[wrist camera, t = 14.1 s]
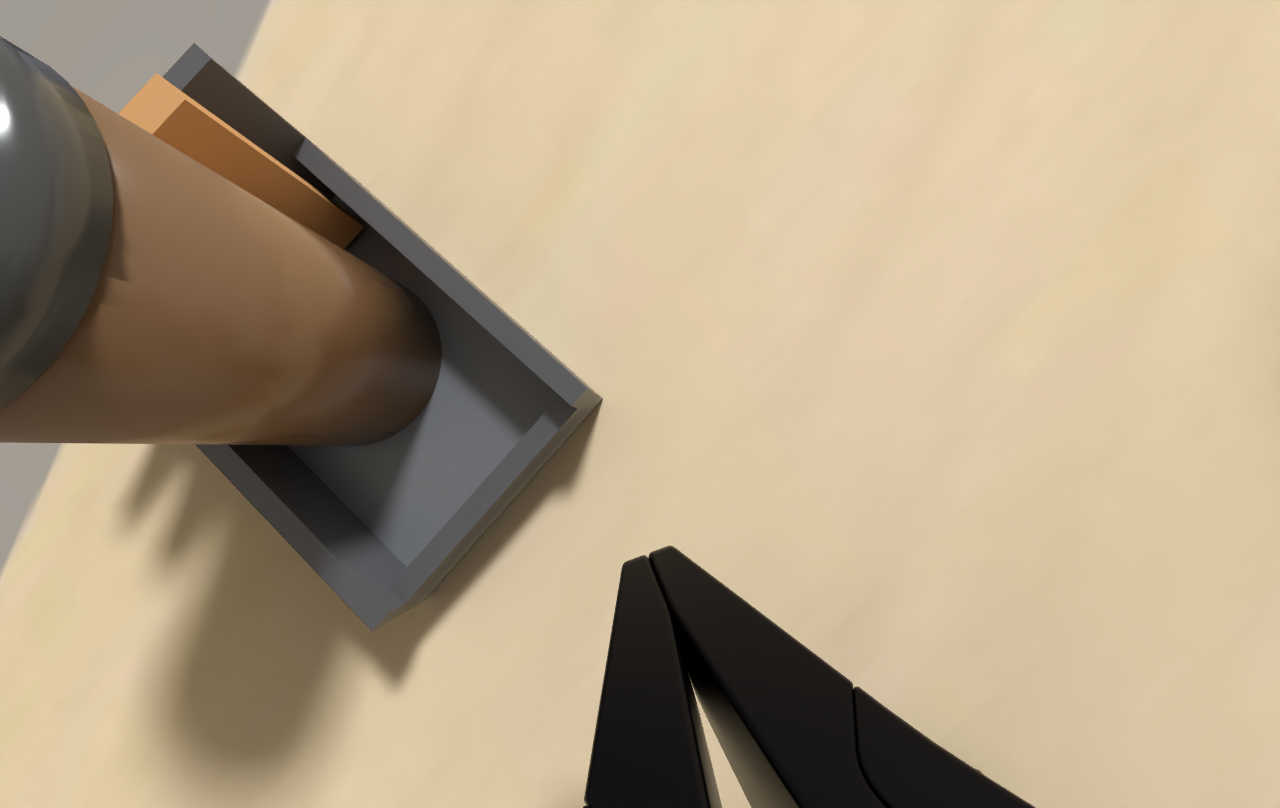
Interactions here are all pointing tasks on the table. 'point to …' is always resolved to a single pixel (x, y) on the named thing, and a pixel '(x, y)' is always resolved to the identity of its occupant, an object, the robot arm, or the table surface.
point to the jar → (180, 296)
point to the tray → (433, 442)
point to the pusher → (236, 159)
